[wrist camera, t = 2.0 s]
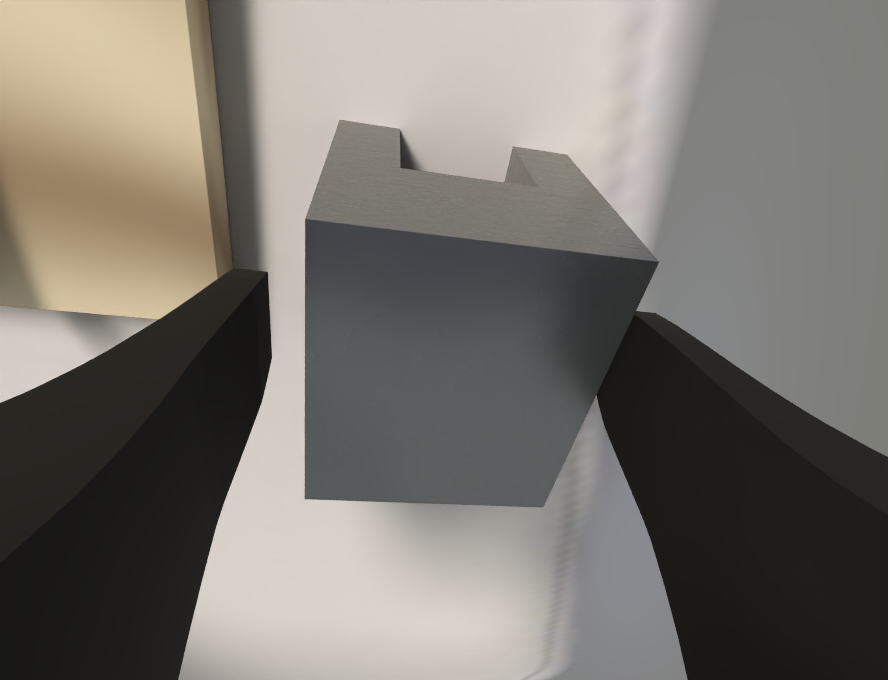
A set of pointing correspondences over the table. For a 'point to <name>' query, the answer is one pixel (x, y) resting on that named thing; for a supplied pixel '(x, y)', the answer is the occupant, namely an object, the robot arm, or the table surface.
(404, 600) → the table surface
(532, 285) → the clip
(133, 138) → the rail
